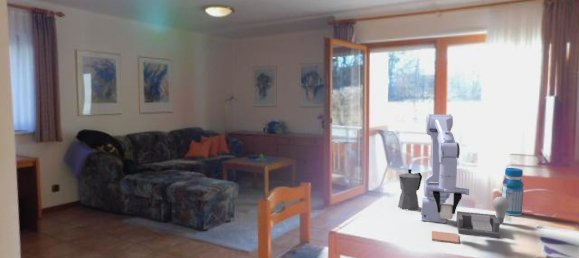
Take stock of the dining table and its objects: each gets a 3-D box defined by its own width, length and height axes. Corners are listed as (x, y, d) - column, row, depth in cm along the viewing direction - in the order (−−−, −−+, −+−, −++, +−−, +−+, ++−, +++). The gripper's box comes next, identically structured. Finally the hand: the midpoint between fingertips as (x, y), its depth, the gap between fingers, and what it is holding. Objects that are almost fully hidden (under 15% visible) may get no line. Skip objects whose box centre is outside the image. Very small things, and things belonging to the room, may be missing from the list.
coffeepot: (407, 212, 180) (409, 172, 179) (390, 207, 188) (392, 168, 187) (428, 207, 189) (430, 168, 188) (412, 202, 197) (413, 165, 196)
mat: (431, 240, 146) (432, 238, 146) (431, 232, 154) (431, 230, 154) (459, 243, 143) (459, 241, 143) (457, 235, 151) (457, 233, 151)
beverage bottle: (513, 217, 175) (516, 171, 173) (496, 211, 183) (498, 167, 181) (526, 215, 178) (529, 170, 177) (509, 210, 186) (512, 166, 184)
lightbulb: (510, 225, 163) (512, 199, 162) (494, 224, 164) (495, 198, 163) (505, 221, 169) (507, 195, 168) (489, 220, 170) (491, 194, 169)
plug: (439, 218, 147) (439, 205, 146) (439, 214, 151) (440, 202, 150) (452, 219, 145) (453, 206, 145) (452, 216, 149) (453, 203, 149)
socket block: (458, 233, 153) (459, 220, 153) (456, 223, 166) (456, 211, 165) (499, 238, 149) (500, 224, 148) (494, 227, 161) (495, 214, 161)
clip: (473, 229, 143) (473, 220, 143) (471, 222, 150) (471, 214, 150) (492, 231, 141) (492, 222, 141) (488, 224, 148) (489, 215, 148)
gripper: (426, 176, 145) (425, 213, 146) (470, 179, 140) (468, 217, 142) (426, 172, 152) (425, 208, 153) (468, 175, 147) (467, 212, 148)
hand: (446, 212), depth 148 cm, fingers closed on plug, 4 cm apart
